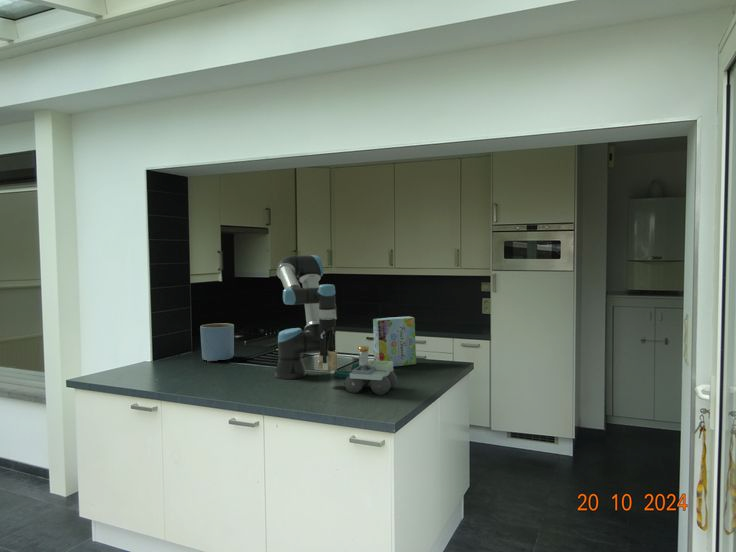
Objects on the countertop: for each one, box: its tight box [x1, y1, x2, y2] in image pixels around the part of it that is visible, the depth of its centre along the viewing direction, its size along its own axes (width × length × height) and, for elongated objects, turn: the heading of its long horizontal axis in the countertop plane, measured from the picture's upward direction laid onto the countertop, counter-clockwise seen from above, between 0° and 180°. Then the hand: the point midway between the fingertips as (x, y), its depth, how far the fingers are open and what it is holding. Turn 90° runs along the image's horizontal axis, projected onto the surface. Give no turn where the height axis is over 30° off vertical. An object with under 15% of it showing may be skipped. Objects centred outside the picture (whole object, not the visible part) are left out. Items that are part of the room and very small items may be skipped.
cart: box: [344, 367, 398, 396], centre depth 241 cm, size 20×18×10 cm
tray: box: [368, 360, 394, 372], centre depth 244 cm, size 11×10×2 cm
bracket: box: [333, 362, 359, 379], centre depth 268 cm, size 18×7×8 cm, turn 61°
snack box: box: [372, 315, 417, 368], centre depth 294 cm, size 22×9×26 cm, turn 111°
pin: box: [357, 345, 370, 371], centre depth 237 cm, size 5×5×11 cm
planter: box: [199, 322, 235, 362], centre depth 319 cm, size 19×19×20 cm
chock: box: [318, 350, 338, 372], centre depth 251 cm, size 7×5×8 cm
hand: (328, 368), depth 251 cm, fingers closed on chock, 5 cm apart
